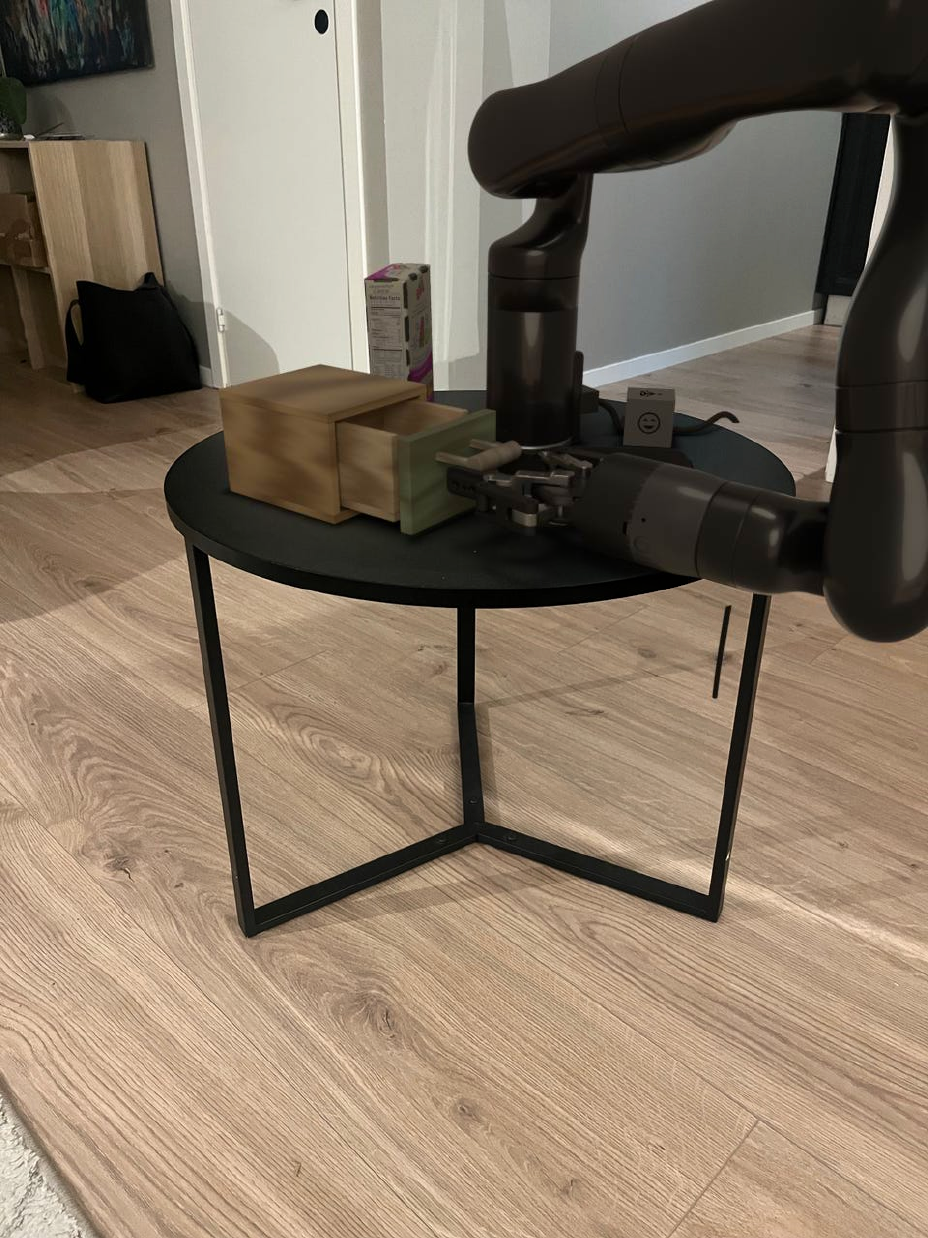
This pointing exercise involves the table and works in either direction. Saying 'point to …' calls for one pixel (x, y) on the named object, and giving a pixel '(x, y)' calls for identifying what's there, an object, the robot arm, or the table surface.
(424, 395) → the cabinet
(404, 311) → the candy bar box
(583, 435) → the table surface
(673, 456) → the carrying case
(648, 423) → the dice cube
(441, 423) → the drawer
